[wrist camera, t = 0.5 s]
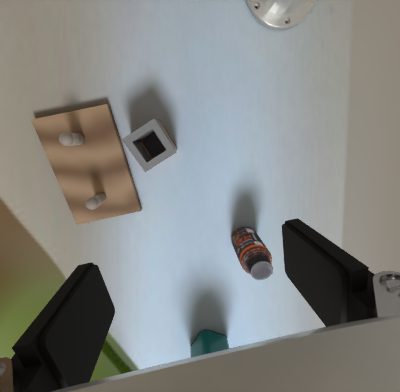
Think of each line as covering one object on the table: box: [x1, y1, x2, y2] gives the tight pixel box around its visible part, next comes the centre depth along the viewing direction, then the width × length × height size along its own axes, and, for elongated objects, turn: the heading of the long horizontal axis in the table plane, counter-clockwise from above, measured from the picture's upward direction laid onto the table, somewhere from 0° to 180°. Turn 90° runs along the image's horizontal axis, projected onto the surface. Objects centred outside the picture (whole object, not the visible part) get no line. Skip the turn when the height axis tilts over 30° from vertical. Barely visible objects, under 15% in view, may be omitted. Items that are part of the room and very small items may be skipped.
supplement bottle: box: [232, 227, 273, 280], centre depth 40 cm, size 6×6×11 cm
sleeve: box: [122, 118, 177, 172], centre depth 34 cm, size 6×6×6 cm
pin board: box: [31, 104, 142, 225], centre depth 35 cm, size 20×13×6 cm, turn 11°
